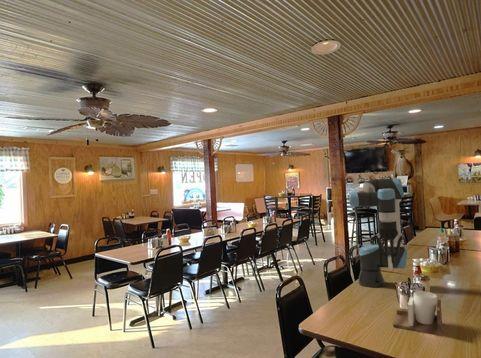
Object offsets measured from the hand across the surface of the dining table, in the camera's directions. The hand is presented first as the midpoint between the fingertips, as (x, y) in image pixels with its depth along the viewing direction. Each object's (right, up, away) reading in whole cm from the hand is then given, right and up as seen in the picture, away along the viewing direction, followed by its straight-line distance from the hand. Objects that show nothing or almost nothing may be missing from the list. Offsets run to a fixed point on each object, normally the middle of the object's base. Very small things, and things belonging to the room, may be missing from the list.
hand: (390, 269), depth 157 cm
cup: (+9, -19, -14) cm, 25 cm away
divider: (+3, -19, -13) cm, 24 cm away
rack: (+6, -21, -14) cm, 25 cm away
